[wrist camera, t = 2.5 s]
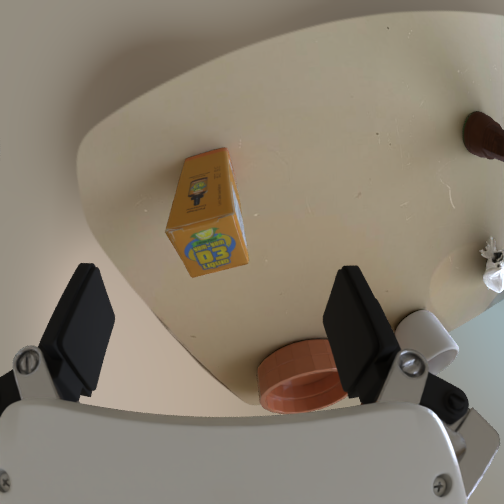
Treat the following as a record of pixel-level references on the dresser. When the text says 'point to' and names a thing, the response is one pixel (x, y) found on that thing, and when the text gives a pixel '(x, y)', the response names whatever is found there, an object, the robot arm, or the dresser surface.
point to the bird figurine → (494, 267)
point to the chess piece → (483, 136)
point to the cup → (427, 339)
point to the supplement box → (208, 215)
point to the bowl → (299, 378)
